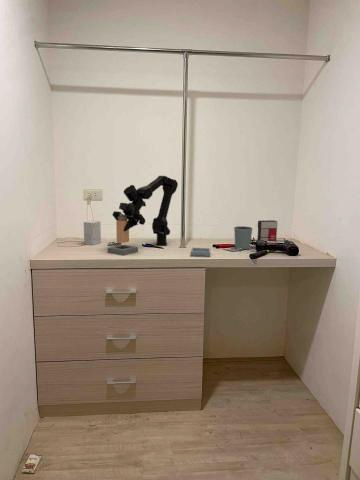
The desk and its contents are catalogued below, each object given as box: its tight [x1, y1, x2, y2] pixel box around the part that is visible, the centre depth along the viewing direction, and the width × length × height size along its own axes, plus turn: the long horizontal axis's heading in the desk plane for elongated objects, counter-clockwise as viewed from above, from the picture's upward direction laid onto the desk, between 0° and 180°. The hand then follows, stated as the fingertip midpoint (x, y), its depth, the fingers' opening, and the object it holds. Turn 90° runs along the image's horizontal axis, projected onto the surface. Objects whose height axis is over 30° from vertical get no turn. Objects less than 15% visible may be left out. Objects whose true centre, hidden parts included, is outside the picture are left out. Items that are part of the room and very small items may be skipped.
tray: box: [190, 247, 212, 258], centre depth 198 cm, size 10×10×2 cm
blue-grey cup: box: [233, 225, 253, 250], centre depth 216 cm, size 10×10×12 cm
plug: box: [115, 216, 130, 244], centre depth 194 cm, size 5×4×13 cm
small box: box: [83, 220, 102, 246], centre depth 220 cm, size 8×6×13 cm
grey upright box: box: [256, 219, 278, 243], centre depth 224 cm, size 11×4×15 cm, turn 105°
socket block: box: [107, 243, 139, 256], centre depth 196 cm, size 11×11×4 cm
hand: (120, 230), depth 193 cm, fingers closed on plug, 4 cm apart
